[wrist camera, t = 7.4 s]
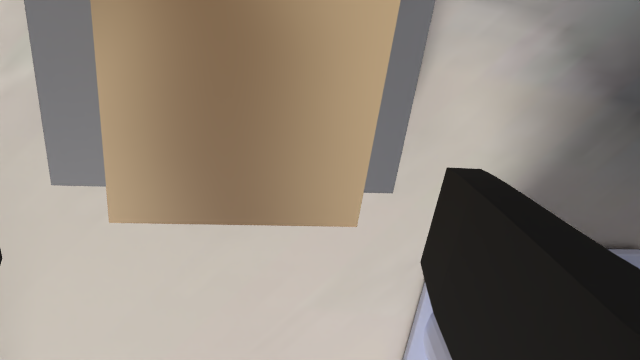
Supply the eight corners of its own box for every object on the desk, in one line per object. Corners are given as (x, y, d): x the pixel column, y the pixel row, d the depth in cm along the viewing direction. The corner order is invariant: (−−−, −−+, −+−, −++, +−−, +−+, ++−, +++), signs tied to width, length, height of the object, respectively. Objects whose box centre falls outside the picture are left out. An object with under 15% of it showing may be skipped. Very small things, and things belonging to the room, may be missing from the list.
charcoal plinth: (440, -184, 15) (475, -181, 13) (375, 153, 20) (392, 193, 18) (24, -244, 13) (-14, -252, 11) (71, 142, 19) (51, 185, 16)
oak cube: (349, -70, 14) (403, -14, 10) (323, 119, 17) (356, 226, 12) (130, -93, 13) (86, -43, 9) (140, 110, 16) (108, 222, 11)
